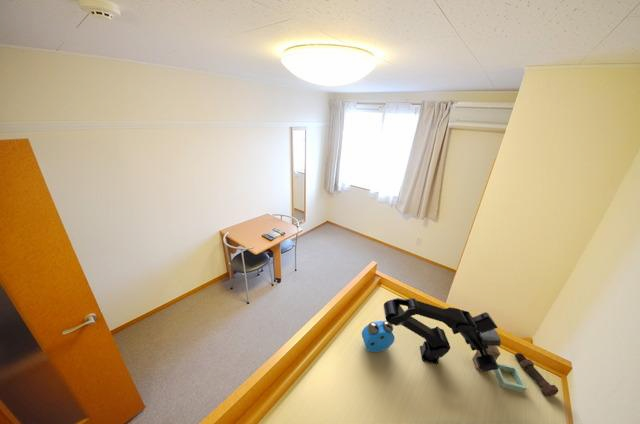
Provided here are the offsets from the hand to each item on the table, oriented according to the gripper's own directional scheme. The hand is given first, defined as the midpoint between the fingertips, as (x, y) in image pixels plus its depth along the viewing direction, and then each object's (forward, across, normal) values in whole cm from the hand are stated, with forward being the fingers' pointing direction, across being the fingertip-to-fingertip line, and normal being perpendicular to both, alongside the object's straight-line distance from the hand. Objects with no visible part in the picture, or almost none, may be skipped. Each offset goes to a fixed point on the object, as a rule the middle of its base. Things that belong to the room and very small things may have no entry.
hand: (489, 357), depth 93 cm
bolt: (+18, +1, -8) cm, 20 cm away
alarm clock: (-27, -3, +37) cm, 46 cm away
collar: (+10, -3, -1) cm, 10 cm away
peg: (+4, 0, +6) cm, 7 cm away
